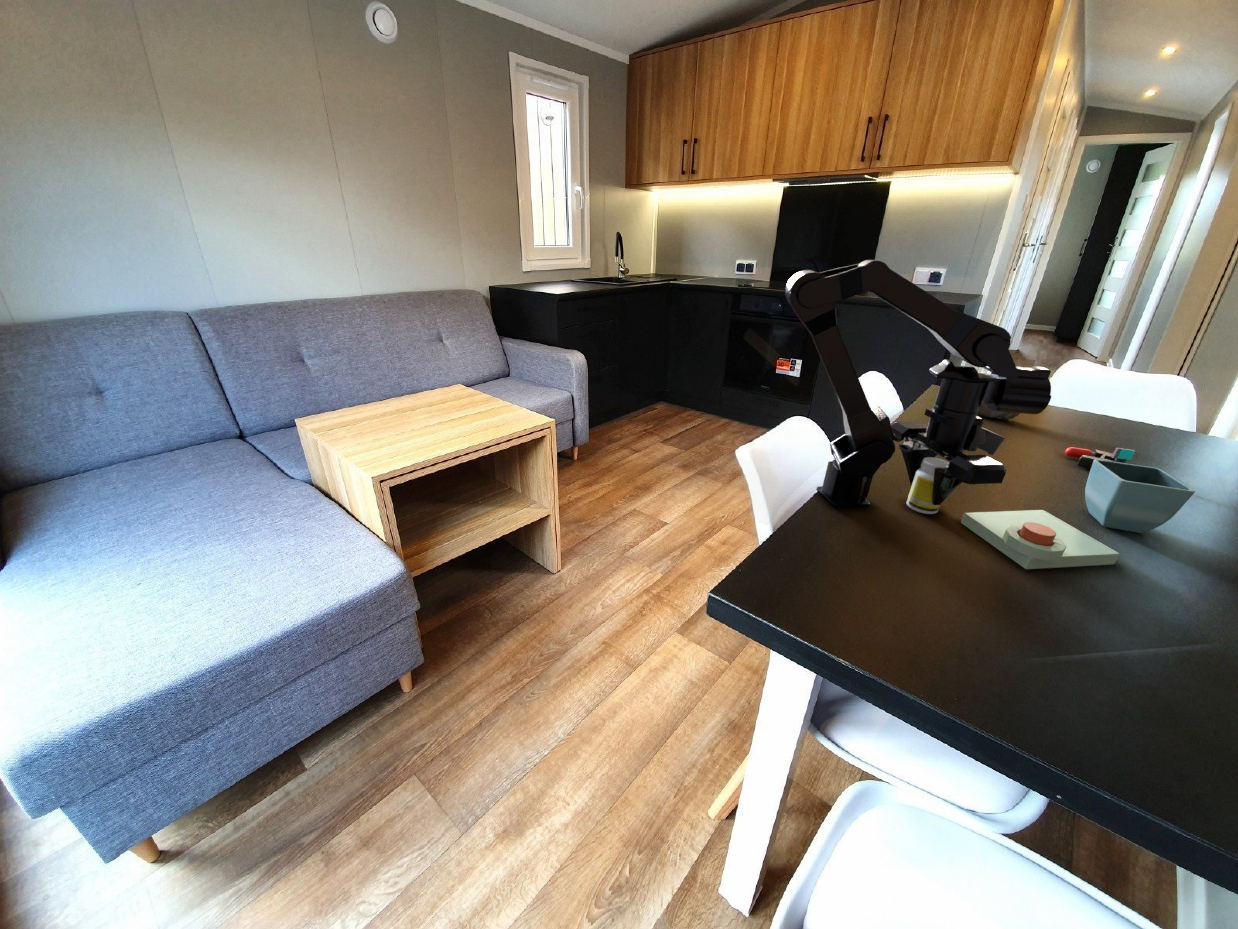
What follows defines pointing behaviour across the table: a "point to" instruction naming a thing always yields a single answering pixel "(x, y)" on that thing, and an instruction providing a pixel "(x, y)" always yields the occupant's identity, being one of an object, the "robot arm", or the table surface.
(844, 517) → the table surface
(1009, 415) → the perforated stone tool
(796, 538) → the table surface
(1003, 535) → the kitchen scale
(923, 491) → the supplement bottle
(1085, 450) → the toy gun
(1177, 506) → the flower pot
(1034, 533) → the button
